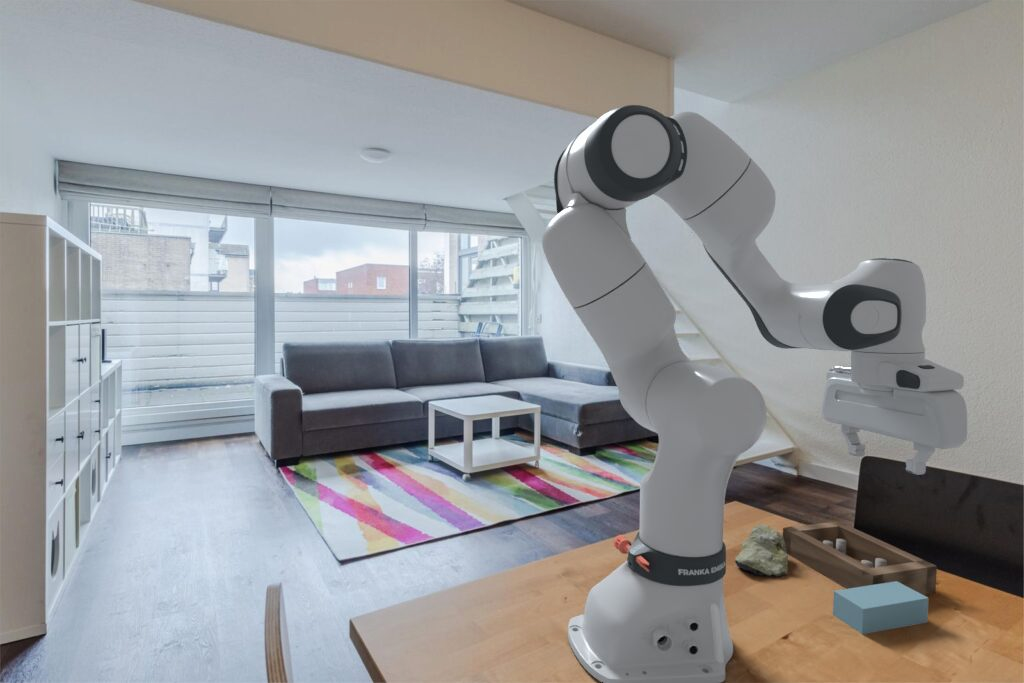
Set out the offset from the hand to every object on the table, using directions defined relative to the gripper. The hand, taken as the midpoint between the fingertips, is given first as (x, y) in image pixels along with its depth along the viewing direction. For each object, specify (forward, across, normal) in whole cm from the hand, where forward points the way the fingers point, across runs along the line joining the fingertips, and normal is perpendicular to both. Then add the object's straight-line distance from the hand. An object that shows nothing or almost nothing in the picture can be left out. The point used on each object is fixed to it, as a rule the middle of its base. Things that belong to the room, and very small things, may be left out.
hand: (884, 463), depth 79 cm
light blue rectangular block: (+24, 0, -1) cm, 24 cm away
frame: (+24, -13, +8) cm, 28 cm away
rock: (+24, -19, -6) cm, 31 cm away
